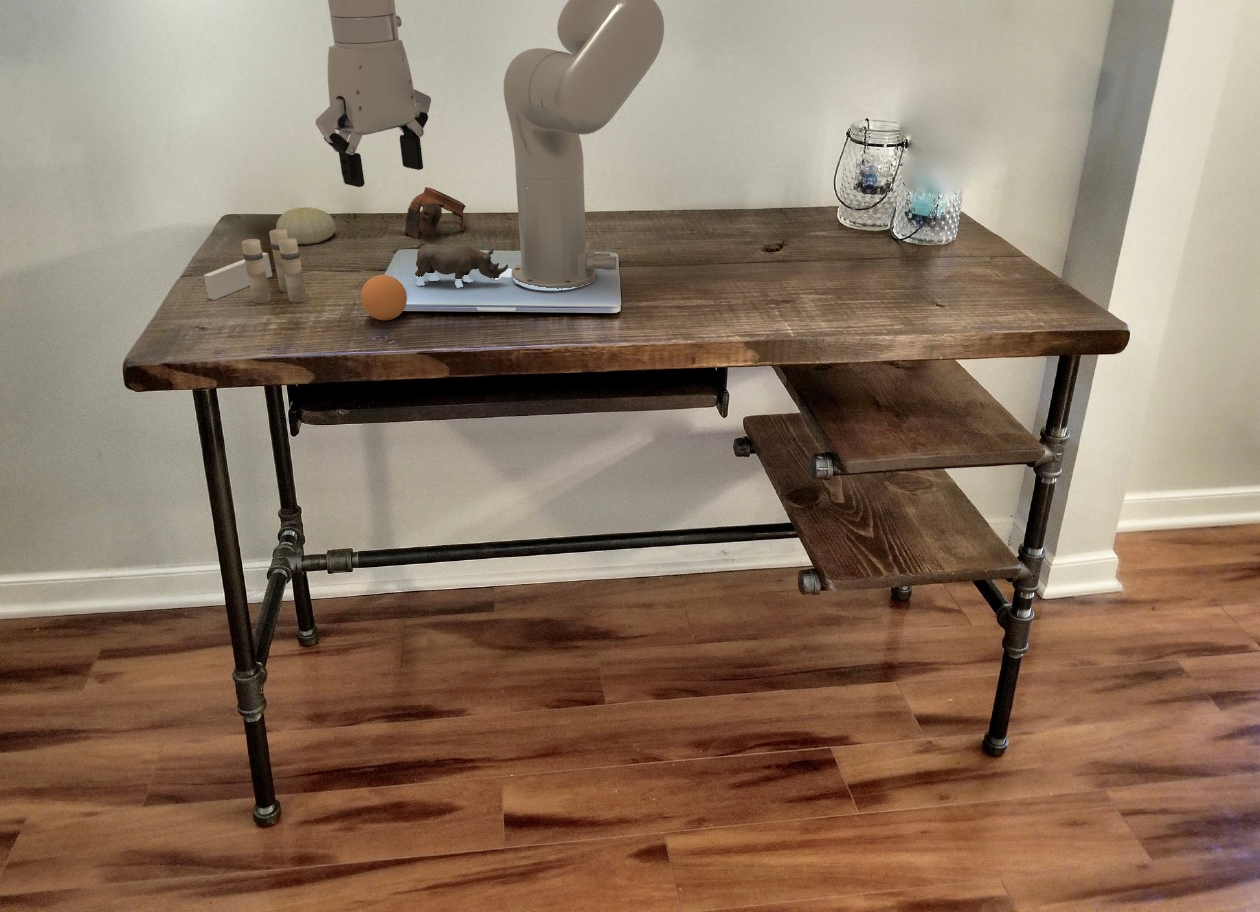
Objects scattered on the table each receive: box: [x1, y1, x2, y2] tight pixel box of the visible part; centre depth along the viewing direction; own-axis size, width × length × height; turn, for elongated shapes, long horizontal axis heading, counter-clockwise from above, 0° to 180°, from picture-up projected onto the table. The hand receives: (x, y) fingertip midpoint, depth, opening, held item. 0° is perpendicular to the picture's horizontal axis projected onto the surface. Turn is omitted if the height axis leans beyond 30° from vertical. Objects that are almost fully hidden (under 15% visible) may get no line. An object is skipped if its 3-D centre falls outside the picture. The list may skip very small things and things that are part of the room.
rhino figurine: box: [414, 244, 509, 280], centre depth 150 cm, size 4×14×6 cm, turn 84°
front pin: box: [278, 238, 308, 304], centre depth 144 cm, size 2×2×8 cm
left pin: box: [240, 238, 272, 304], centre depth 144 cm, size 2×2×8 cm
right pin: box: [268, 228, 288, 293], centre depth 148 cm, size 2×2×8 cm
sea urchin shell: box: [275, 206, 337, 245], centre depth 170 cm, size 9×8×8 cm
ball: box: [360, 274, 408, 321], centre depth 138 cm, size 6×6×6 cm
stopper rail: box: [203, 251, 273, 301], centre depth 150 cm, size 1×11×4 cm, turn 151°
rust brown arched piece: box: [404, 186, 467, 240], centre depth 171 cm, size 12×10×8 cm
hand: (384, 176), depth 130 cm, fingers open, 9 cm apart
